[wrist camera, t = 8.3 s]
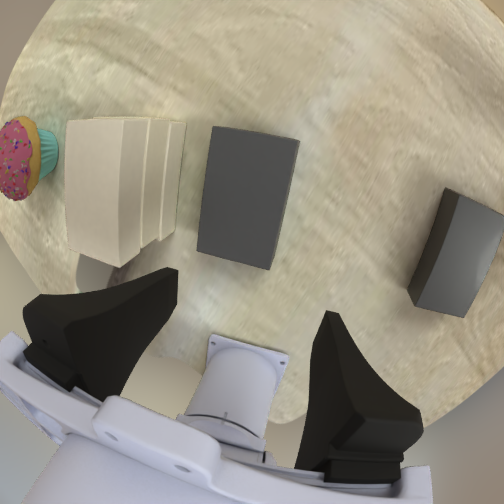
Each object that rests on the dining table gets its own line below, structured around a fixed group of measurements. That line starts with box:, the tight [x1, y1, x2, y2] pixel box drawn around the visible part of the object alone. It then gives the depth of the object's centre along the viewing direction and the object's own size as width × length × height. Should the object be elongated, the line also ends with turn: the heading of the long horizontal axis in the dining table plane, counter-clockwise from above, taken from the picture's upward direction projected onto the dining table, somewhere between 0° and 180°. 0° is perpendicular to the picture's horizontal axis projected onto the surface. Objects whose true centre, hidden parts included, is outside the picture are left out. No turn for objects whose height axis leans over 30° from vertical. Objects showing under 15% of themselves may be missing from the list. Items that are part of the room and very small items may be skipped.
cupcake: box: [0, 116, 58, 201], centre depth 17 cm, size 9×8×12 cm
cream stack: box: [92, 117, 187, 248], centre depth 19 cm, size 9×6×5 cm, turn 169°
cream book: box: [64, 119, 148, 268], centre depth 16 cm, size 9×5×2 cm, turn 169°
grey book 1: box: [197, 126, 300, 270], centre depth 19 cm, size 9×6×2 cm, turn 169°
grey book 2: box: [407, 188, 504, 318], centre depth 17 cm, size 9×6×2 cm, turn 169°
